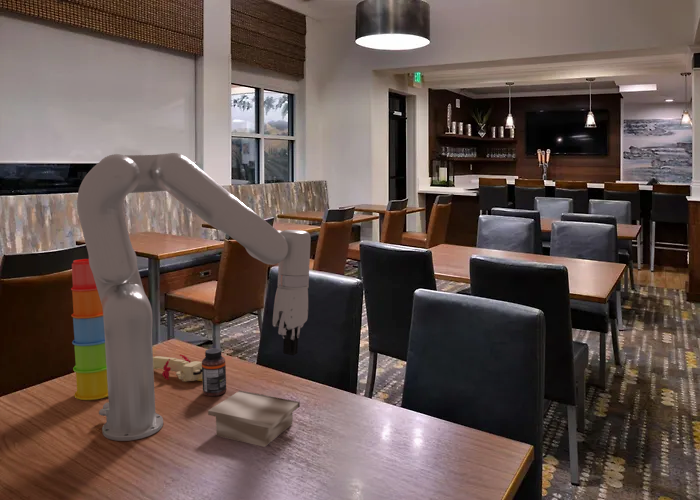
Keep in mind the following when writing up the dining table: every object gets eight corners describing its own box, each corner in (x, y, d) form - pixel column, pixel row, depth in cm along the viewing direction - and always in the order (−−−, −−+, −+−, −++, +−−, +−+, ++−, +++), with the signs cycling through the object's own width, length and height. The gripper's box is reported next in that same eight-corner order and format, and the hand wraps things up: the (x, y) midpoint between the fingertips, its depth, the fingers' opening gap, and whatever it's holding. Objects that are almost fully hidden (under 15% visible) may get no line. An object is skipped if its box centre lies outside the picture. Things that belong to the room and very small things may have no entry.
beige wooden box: (240, 412, 133) (239, 390, 132) (299, 425, 127) (299, 401, 126) (208, 434, 122) (208, 410, 121) (272, 449, 116) (271, 423, 115)
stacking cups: (66, 401, 139) (57, 263, 134) (85, 385, 149) (77, 256, 144) (108, 401, 139) (100, 263, 134) (124, 386, 149) (117, 257, 144)
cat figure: (125, 377, 159) (192, 386, 147) (122, 347, 158) (189, 354, 146) (152, 366, 167) (217, 374, 156) (149, 338, 166) (214, 343, 155)
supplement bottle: (208, 387, 148) (206, 346, 147) (229, 388, 148) (228, 347, 146) (199, 396, 142) (197, 353, 141) (221, 397, 142) (220, 354, 140)
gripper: (294, 275, 145) (291, 343, 147) (263, 283, 131) (261, 359, 133) (320, 278, 142) (317, 348, 144) (291, 287, 128) (288, 364, 131)
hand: (290, 353), depth 139 cm, fingers closed
